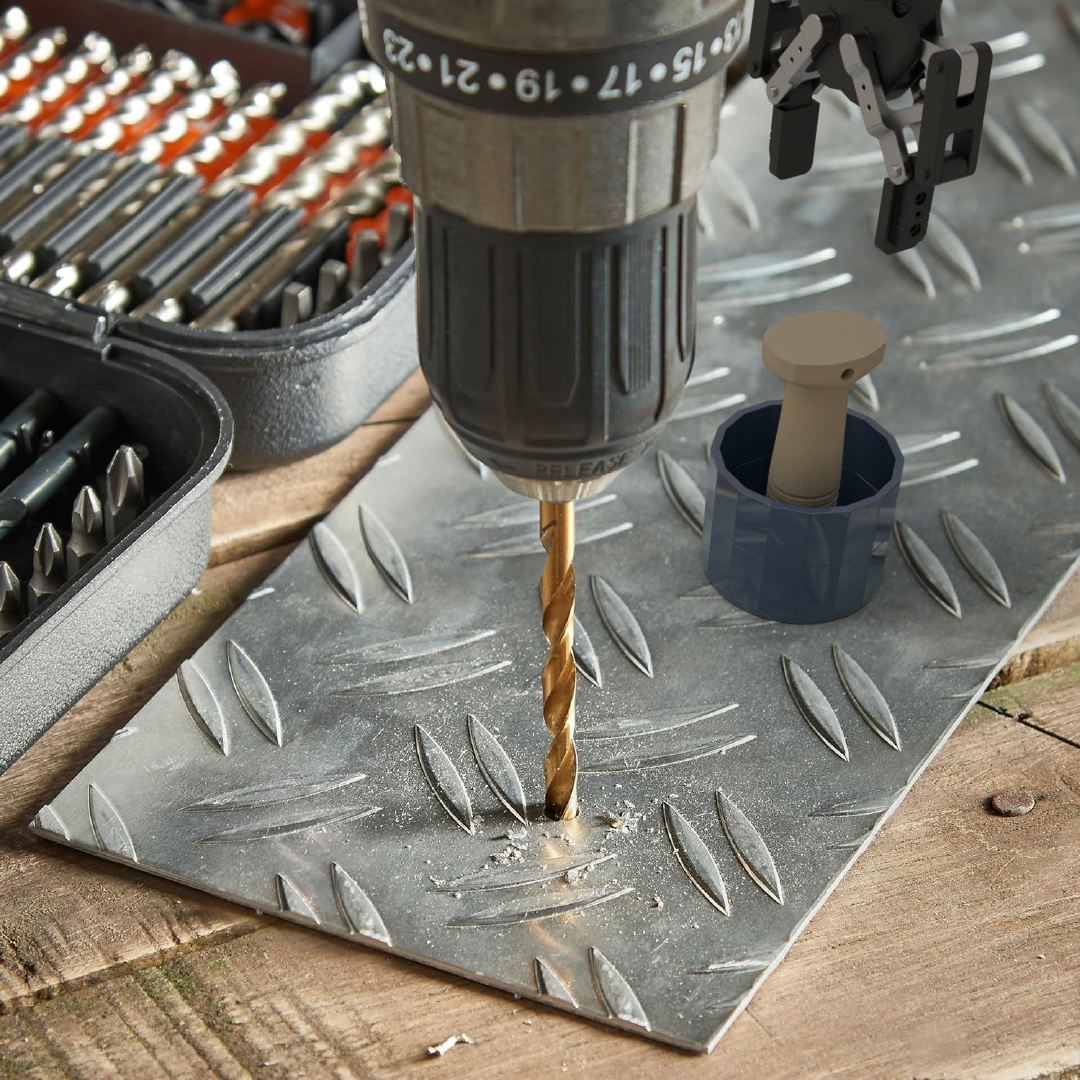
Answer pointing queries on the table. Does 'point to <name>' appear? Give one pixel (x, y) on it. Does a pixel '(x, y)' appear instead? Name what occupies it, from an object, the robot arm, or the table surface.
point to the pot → (797, 522)
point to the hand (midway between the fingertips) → (840, 209)
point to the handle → (816, 399)
